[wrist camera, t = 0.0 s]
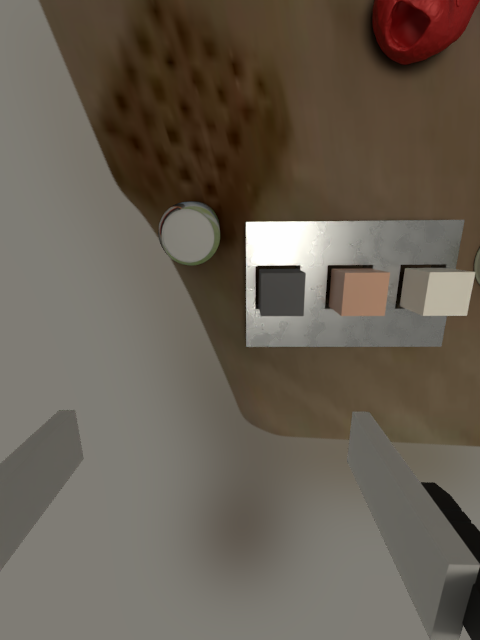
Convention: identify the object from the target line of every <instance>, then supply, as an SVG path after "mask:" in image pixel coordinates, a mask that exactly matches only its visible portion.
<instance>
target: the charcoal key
mask: <svg viewBox="0 0 480 640" xmlns="http://www.w3.org/2000/svg"><path fill="white" fill-rule="evenodd" d="M305 278H306V273H305V272H303V271H301V270H299V269H259V311H260V316H304V298H305Z"/></svg>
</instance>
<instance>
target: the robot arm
mask: <svg viewBox="0 0 480 640" xmlns="http://www.w3.org/2000/svg"><path fill="white" fill-rule="evenodd" d="M82 460H83V453H82V447H81V441H80V436H79V430H78V424H77V418H76V413H75V410H59V411H58V412H57V413H56V414H55V415H53V416H52V417H51V418H50V419H49V420H48V421H47V422H46V423H45V424H44V425H43V426H42V427H40V428H39V429H38V430H37V431H36V432H35V433H34V434H33V435H31V436H30V437H29V438H28V439H27V440H26V441H25V442H24V443H23V444H22V445H20V446H19V447H18V448H17V449H16V450H15V451H14V452H13V453H12V454H11V455H9V456H8V457H7V458H6V459H5V460H4V461H3V462H2V463H1V464H0V571H1V569H2V568H3V567H4V565H5V564H6V563H7V561H8V560H9V559H10V557H11V556H12V555H13V553H14V552H15V551H16V549H17V548H18V547H19V545H20V544H21V542H22V541H23V540H24V538H25V537H26V536H27V534H28V533H29V532H30V530H31V529H32V528H33V526H34V525H35V524H36V522H37V521H38V520H39V518H40V517H41V516H42V514H43V513H44V512H45V510H46V509H47V508H48V506H49V504H50V503H51V502H52V500H53V499H54V498H55V497H56V495H57V494H58V493H59V491H60V490H61V489H62V487H63V486H64V485H65V483H66V482H67V481H68V479H69V478H70V476H71V475H72V474H73V473H74V471H75V470H76V468H77V467H78V466H79V464H80V463H81V461H82ZM347 462H348V464H349V466H350V468H351V470H352V473H353V475H354V477H355V479H356V481H357V483H358V485H359V488H360V490H361V492H362V494H363V496H364V499H365V501H366V503H367V505H368V507H369V509H370V511H371V513H372V516H373V518H374V520H375V522H376V524H377V526H378V529H379V531H380V533H381V535H382V537H383V539H384V542H385V544H386V546H387V548H388V550H389V552H390V554H391V557H392V559H393V561H394V563H395V565H396V567H397V570H398V572H399V574H400V576H401V578H402V580H403V582H404V585H405V587H406V589H407V591H408V593H409V595H410V597H411V600H412V602H413V604H414V606H415V608H416V610H417V613H418V615H419V617H420V619H421V621H422V623H423V626H424V628H425V630H426V632H427V634H428V636H429V638H430V640H459V638H460V634H461V631H462V627H463V626H464V627H465V629H466V631H467V633H468V634H469V636H470V638H471V640H480V531H479V530H478V529H477V528H476V527H475V525H474V524H472V523H471V520H470V519H469V518H468V517H467V515H466V514H465V513H464V512H462V510H461V508H460V507H459V506H458V504H457V503H456V502H455V501H454V499H453V498H452V497H451V496H450V494H448V493H447V492H446V491H444V490H443V489H442V488H441V487H439V486H438V485H437V484H435V483H424V482H421V483H420V481H419V480H418V479H417V477H416V476H415V475H414V473H413V472H412V471H411V469H410V468H409V466H408V465H407V464H406V462H405V461H404V460H403V458H402V457H401V455H400V454H399V453H398V451H397V450H396V448H395V447H394V446H393V444H392V443H391V441H390V440H389V439H388V437H387V436H386V435H385V433H384V432H383V430H382V429H381V428H380V426H379V425H378V424H377V422H376V421H375V419H374V418H373V417H372V415H371V414H370V413H369V412H352V421H351V431H350V440H349V449H348V458H347Z"/></svg>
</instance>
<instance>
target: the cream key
mask: <svg viewBox="0 0 480 640" xmlns="http://www.w3.org/2000/svg"><path fill="white" fill-rule="evenodd" d="M474 277H475V272H472V271H464V270H457V269H449V268H405V271H404V278H403V286H402V293H401V300H400V306H401V307H403V308H405V309H408V310H410V311H413V312H415V313H417V314H420V315H422V316H467V311H468V306H469V302H470V297H471V292H472V287H473V282H474Z"/></svg>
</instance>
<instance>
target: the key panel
mask: <svg viewBox="0 0 480 640" xmlns="http://www.w3.org/2000/svg"><path fill="white" fill-rule="evenodd" d="M463 225H464V220H403V221H303V222H246V347H419V346H441V345H442V340H443V334H444V329H445V323H446V318H447V316H422V315H420V314H417V313H415V312H413V311H410V310H408V309H405V308H403V307H401V306H400V304H396V297H397V289H398V282H399V274H400V267H401V265H424V264H431V268H449V269H456V263H457V258H458V253H459V247H460V242H461V236H462V231H463ZM284 265H296V269H299V270H301V271H303V272H305V273H306V278H305V298H304V316H260V311H259V304H255V299H256V266H284ZM328 265H363V268H371V269H376V270H381V271H385V272H390V278H389V286H388V294H387V302H386V310H385V316H341V315H339V314H338V313H337V312H335V311H334V310H333V309H331V308H330V307H329V304H325V300H326V286H327V271H328Z"/></svg>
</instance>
